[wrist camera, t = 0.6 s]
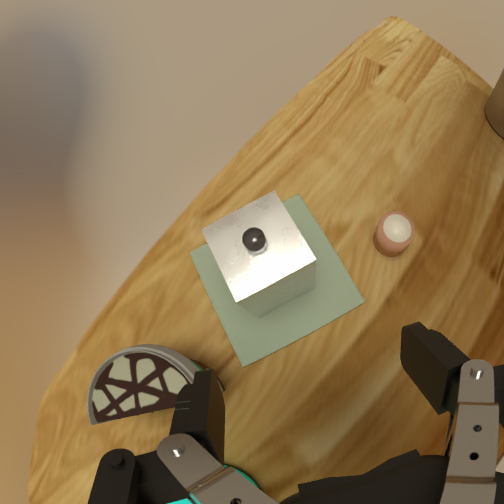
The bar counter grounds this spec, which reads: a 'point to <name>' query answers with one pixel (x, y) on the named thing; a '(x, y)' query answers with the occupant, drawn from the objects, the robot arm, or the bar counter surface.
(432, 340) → the robot arm
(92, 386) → the food container
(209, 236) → the steel cover
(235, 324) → the rubber mat
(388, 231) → the terracotta ramekin
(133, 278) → the bar counter surface
